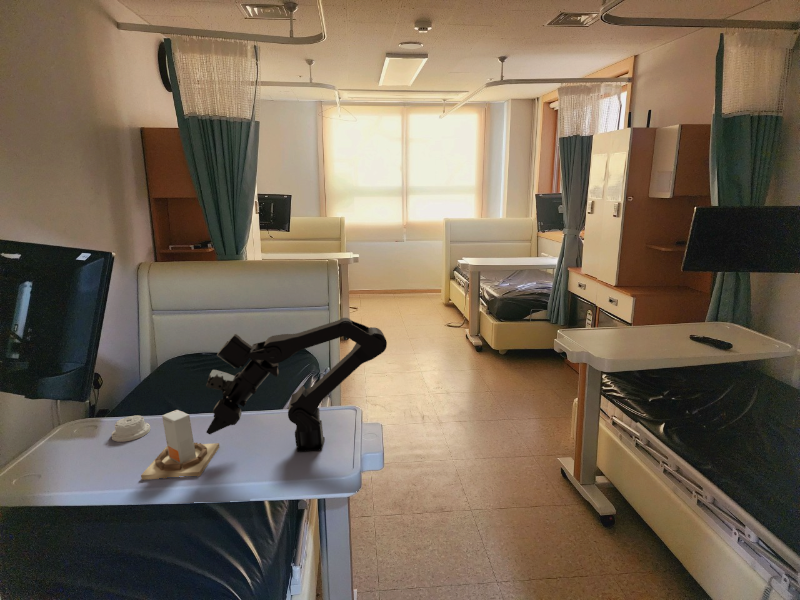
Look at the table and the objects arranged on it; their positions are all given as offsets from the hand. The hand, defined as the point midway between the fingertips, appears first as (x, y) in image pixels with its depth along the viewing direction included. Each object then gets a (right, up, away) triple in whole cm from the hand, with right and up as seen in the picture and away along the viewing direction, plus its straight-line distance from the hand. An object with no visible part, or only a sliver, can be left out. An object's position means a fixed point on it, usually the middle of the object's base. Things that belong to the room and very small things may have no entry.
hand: (211, 424), depth 126 cm
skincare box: (-7, -9, 0) cm, 12 cm away
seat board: (-8, -10, +1) cm, 12 cm away
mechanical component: (-30, -8, +19) cm, 36 cm away
